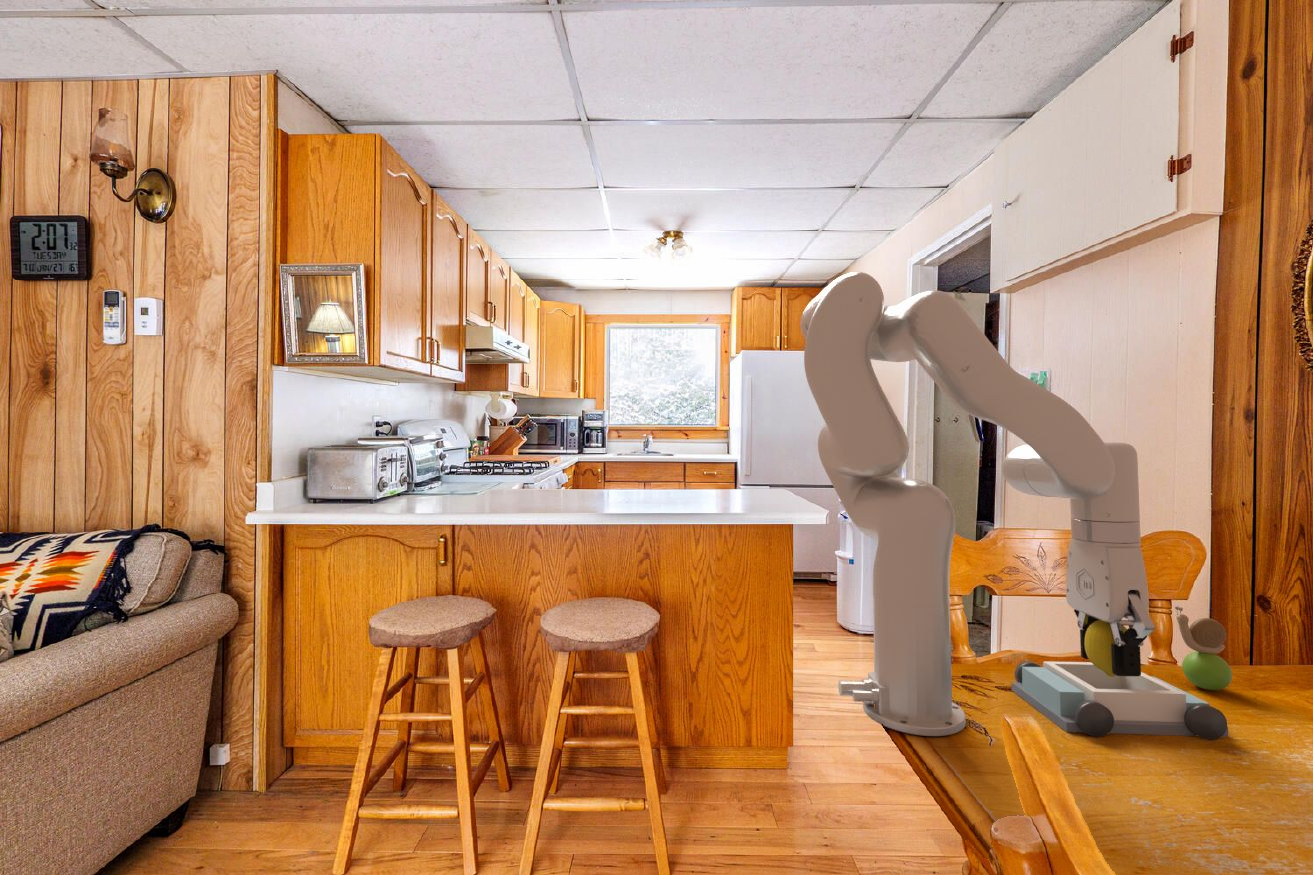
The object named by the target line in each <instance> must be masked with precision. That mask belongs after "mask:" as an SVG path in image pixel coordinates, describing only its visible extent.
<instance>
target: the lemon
mask: <svg viewBox="0 0 1313 875" xmlns="http://www.w3.org/2000/svg"><path fill="white" fill-rule="evenodd" d="M1121 627H1122V631H1123V633H1124V632H1125V631H1126V630H1127V629H1128V628H1127V627H1126V626H1121ZM1111 644H1116V643H1115V640H1114V636H1113V632H1112V628H1111V624H1110V623H1108V622H1104V621H1102V620H1097V621H1095V622H1094V623H1092V624H1091V625H1090V626H1089V627H1088V629H1087V631H1086V634H1085V651H1086V654H1087V656H1088V658H1089V659H1088V660H1089V662H1092V663H1093V664H1094V665H1095V666H1096V667H1097V668H1099V669H1100V670H1102V671H1104V672H1105V673H1106V674H1107V675H1108V676H1110V677H1114V676H1115V674H1113V673H1112V651H1111Z"/></svg>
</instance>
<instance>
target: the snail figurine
mask: <svg viewBox="0 0 1313 875" xmlns="http://www.w3.org/2000/svg"><path fill="white" fill-rule="evenodd" d="M1174 609H1175V610H1176V615H1177V616H1176V621H1177V623H1178V629H1179V632H1180V634H1181V637H1182V639H1183V641H1184V643H1185V645H1186V646H1187V647H1188V648H1189V649H1191V650H1193V651H1192V652H1190V653H1189V654H1187V655H1186V656H1185V657H1184V658H1183V660H1182V663H1181V667H1182V668H1181V670H1182V672H1183V674H1184V676H1185V677H1186V679H1187V680H1188V681H1189V682H1191V684H1193V685H1194V686H1196V687H1198V688H1200V689H1204V690H1205V691H1207V690H1208V691H1221V690H1223V689H1225V688H1227V687H1228V686H1230V684H1231V683H1232V680H1233V672H1232V671H1233V670H1232V669H1231V667H1230V665H1229V663H1228V661H1226V660H1225V659H1224V658H1222V657H1221V656H1219V655H1218V654H1220V653H1221V652H1222V651H1224V649H1225V648H1226V646H1225V644H1224V643H1225V641H1226V640H1227V631H1226V629H1225V627H1224V626H1223V625H1222V624H1221V623H1220V622H1219V621H1218V620H1215V619H1214V618H1213V619H1212V618H1207V617H1203V618H1198V619H1196V620H1194V621H1193V622H1192V623H1191V625H1190V626H1189V617H1188V616H1187V615H1186V614H1184V613H1183V614H1182V611H1183V610H1184V609H1183V607H1181V606H1178V605H1176V606H1174ZM1178 611H1179V612H1178ZM1178 613H1179V614H1178Z"/></svg>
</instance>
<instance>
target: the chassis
mask: <svg viewBox="0 0 1313 875" xmlns="http://www.w3.org/2000/svg"><path fill="white" fill-rule="evenodd" d="M1014 679H1015V680H1016V682H1014V681H1012V682H1011V691H1012V692H1013V693H1014V694H1016V695H1017V696H1018V697H1020V698H1021V699H1022V700H1024V702H1026V703H1028V704H1029V705H1030V706H1032V707H1033V708H1034V709H1035V710H1037V711H1038V712H1039V713H1041V714H1042V715H1043V716H1045V717H1046V718H1047V719H1049V720H1050V721H1051V722H1053V723H1054V724H1055V725H1057V727H1059V728H1061V730H1063V731H1064V732H1066V733H1084V734H1085V733H1086V734H1088V735H1089V736H1091V737H1094V738H1095V737H1096V738H1102V737H1104V736H1105V737H1106V735H1108V734H1120V735H1121V734H1123V735H1124V734H1125V735H1157V736H1160V735H1161V736H1184V737H1185V736H1186V737H1187V736H1193V737H1199V738H1201V739H1203V740H1206V741H1216V740H1219V739H1220V738H1222V737H1223V738H1224V737H1225V738H1226V737H1227V738H1230V737H1229V735H1230V734H1229V726H1228V720H1227V718H1226V716H1225V715H1224V713H1223V712H1222V711H1221V710H1219V709H1218V708H1216V707H1214V706H1211V705H1210V703H1209V702H1207V701H1206V700H1204V699H1201V698H1199V697H1197V696H1195V695H1193V694H1191V693H1189V692H1186V691H1184V690H1182V689H1180V688H1179V687H1176V686H1174V685H1172V684H1170V683H1168V682H1166V681H1164V680H1162V679H1160V678H1158V677H1156V676H1150V675H1148V674H1147V673H1145V672H1142V671H1141V675H1140V676H1116V675H1115V676H1114V677H1110V676H1108V675H1107V674H1106V673H1105V672H1104V671H1102V670H1100V669H1099V668H1097V667H1096V666H1095V665H1094V664H1093V663H1092V662H1091V661H1089V662H1088V661H1087V662H1086V661H1049V660H1048V661H1043V662H1042V666H1041V665H1039V663H1038V664H1037V663H1036V662H1034V661H1031V660H1025V661H1022V662H1020V663H1019V664H1018V665H1017V666H1016V668H1015V670H1014Z"/></svg>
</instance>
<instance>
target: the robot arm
mask: <svg viewBox="0 0 1313 875" xmlns="http://www.w3.org/2000/svg"><path fill="white" fill-rule="evenodd" d="M800 330H801V333H802V336H803V338H804V339H805V342H804V352H803V354H804V355H803V366H804V373H805V377H806V381H807V383H808V387H809V389H810V391H811V394H812V397H813V398H814V401H815V403H816V405H817V407H818V411H819V412H820V415H821V416H822V419H823V421H824V425H823V426H822V427H821V430H820V432H819V435H818V438H817V452H818V455H819V459H820V461H821V464H822V467H823V469H824V471H825V473H826V475H827V477H828V479H829V481H830V483H831V485H832V487H833V488H834V491H835V492H836V494H837V497H838V498H839V500H840V502H841V504H842V506H843V507H844V509H845V511H846V514H847V515H848V517H849V519H850V520H851V522H852V523H853V524H854V526H855V527H856V528H857V530H859V531H860V532H861V533H862V534H864V535H865V536H867V537H869V538H870V539H873V540H875V541H877V548H876V551H875V552H876V553H875V557H874V561H873V562H874V563H873V568H872V569H873V570H872V604H873V605H872V606H873V607H872V610H873V611H872V612H873V614H872V615H873V617H872V618H873V661H874V662H873V666H874V667H873V672H871V671H870V672H867V678H861V681H853V680H838V693H839V695H840V696H843V697H844V696H847V697H849V696H850V697H852V700H853V701H852V702H862V709H863V712H865V714H866V715H867V717H869V718H870V719H871V720H872V721H874V722H876V723H877V724H879V725H880V726H884V727H886V728H888V729H891V730H894V731H896V732H897V731H898V732H901V733H905V734H910V735H915V736H925V737H942V736H943V737H945V736H950V735H954V734H957V733H959V732H960V731H962V730H964V728H965V727H966V723H967V722H966V721H967V720H966V719H967V716H966V713H965V712H964V710H963V709H962V707H960V706H959V705H958V704H956V703H955V702H953V693H952V692H953V690H952V689H953V686H952V684H953V682H952V645H951V644H952V641H951V640H952V638H951V600H950V599H951V598H950V596H951V595H950V576H951V575H950V572H951V558H952V552H953V551H952V550H953V546H954V539H955V533H956V523H957V522H956V514H955V510H954V507H953V504H952V502H951V500H950V498H949V497H948V496H947V495H946V494H945V492H944V491H942V490H941V489H940V488H939V487H937V486H936V485H934V484H933V483H930V482H928V481H925V480H922V479H917V478H907V477H899V475H898V473H897V471H898V470H900V469H901V468H902V467H903V466H904V464H905V462H906V461H907V459H908V456H909V453H910V451H909V450H910V448H909V447H910V446H909V440H908V437H907V434H906V432H905V430H904V427H903V425H902V424H901V422H900V420H899V418H898V416H897V414H896V413H895V411H894V409H893V407H892V405H891V403H890V402H889V399H888V398H887V396H886V394H885V392H884V390H883V388H882V386H881V384H880V381H879V380H878V378H877V376H876V373H875V371H874V368H873V364H872V361H871V360H873V361H881V362H891V363H892V362H893V363H905V362H910V361H914V360H916V362H918V364H919V365H920V366H921V367H922V369H923V371H925V372H926V373H927V375H928V376H929V377H930V379H931V380H932V381H933V382H934V384H936V386H937V387H938V388H939V389H940V391H941V393H943V394H944V396H945V397H946V399H948V401H949V402H950V403H951V405H952V406H954V407H955V408H956V409H957V410H959V411H962V412H963V413H965V414H967V415H969V416H972V417H974V418H976V419H980V420H982V421H986V422H988V423H991V424H993V425H996V426H999V427H1000V428H1003V429H1004V430H1006V431H1008V432H1010V433H1011V434H1014V435H1015V436H1016V437H1017V438H1019V439H1021V441H1023V442H1024V444H1021V445H1018V446H1016V447H1014V448H1013V449H1012V450H1010V451H1009V452H1008V453H1007V454H1006V456H1005V457H1004V460H1003V461H1002V468H1001V470H1002V475H1003V477H1004V480H1005V481H1006V482H1007V483H1008V485H1009V486H1010V487H1012V488H1013V489H1015V490H1017V491H1018V492H1021V493H1022V494H1027V495H1029V496H1030V495H1031V496H1036V497H1044V498H1045V497H1047V498H1060V499H1068V500H1069V503H1070V508H1069V509H1070V528H1071V529H1070V530H1071V531H1070V532H1071V533H1070V534H1071V538H1070V542H1069V545H1068V552H1067V560H1066V576H1065V578H1066V579H1065V585H1066V586H1065V597H1066V603H1067V604H1068V606H1069V607H1071V608H1072V609H1073V612H1074V613H1075V616H1076V617H1077V622H1076V623H1077V627H1078V628H1079V636H1080V638H1079V639H1080V640H1079V641H1080V657H1082V658H1083V659H1085V660H1089V658H1088V656H1087V654H1086V651H1085V634H1086V631H1087V629H1088V627H1089V626H1090V625H1091V624H1092V623H1094V622H1095V621H1097V620H1102V621H1104V622H1108V623H1110V624H1111V628H1112V632H1113V636H1114V640H1115V643H1116V644H1111V651H1112V673H1113V674H1115V675H1116V676H1140V675H1141V672H1142V665H1141V664H1142V663H1141V662H1142V661H1141V647H1143V646H1144V641H1145V640H1147V637H1148V636H1149V635H1150V634H1151V633H1152V632H1154V631H1155V629H1156V625H1155V623H1154V621H1153V620H1152V618H1151V616H1150V615H1149V609H1150V608H1149V607H1150V605H1149V604H1150V601H1149V587H1148V580H1147V572H1146V566H1145V562H1144V555H1143V552H1142V548H1141V546H1142V543H1141V542H1142V541H1141V539H1142V538H1141V517H1140V516H1141V514H1140V490H1139V486H1140V485H1139V463H1138V453H1137V450H1136V448H1135V447H1134V446H1133V445H1132V444H1129V443H1126V442H1104V440H1103V439H1102V438H1101V437H1100V435H1099V434H1098V433H1097V432H1096V430H1094V428H1093V427H1092V426H1091V424H1090V423H1089V422H1088V421H1087V419H1086V418H1085V417H1084V416H1083V415H1082V414H1081V413H1080V412H1079V411H1078V410H1077V409H1076V408H1075V407H1073V406H1072V405H1071V404H1070V403H1068V402H1067V401H1065V400H1064V399H1062V398H1061V397H1059V396H1058V395H1056V394H1055V393H1054V392H1051V391H1050V390H1048V389H1046V388H1045V387H1043V386H1041V385H1040V384H1038V383H1037V382H1035V381H1034V380H1032V379H1030V378H1028V377H1027V376H1024V375H1022V374H1021V373H1019V372H1018V371H1016V370H1014V368H1012V366H1010V364H1009V363H1008V361H1006V359H1005V358H1004V356H1002V354H1001V353H1000V352H999V351H998V350H997V348H996V347H995V345H994V344H993V343H992V342H991V341H990V340H989V338H988V337H987V336H986V335H985V334H984V333H983V331H982V330H981V329H980V328H979V326H978V325H977V324H976V322H975V321H974V320H973V319H972V318H971V316H970V315H969V314H968V313H967V311H966V310H965V309H964V307H962V306H961V304H960V303H959V302H958V301H957V300H956V298H954V297H953V296H952V295H950V294H949V293H947V292H944V291H943V290H927V291H923V292H919V293H918V294H915V295H913V296H911V297H909V298H907V299H906V300H905V299H904V301H901V302H900V303H898V304H897V305H885V295H884V291H883V289H882V287H881V285H880V284H879V282H878V281H877V280H876V279H875V278H874V277H873V276H871V275H870V274H868V273H866V272H861V271H854V272H853V271H852V272H848V273H846V274H843V275H841V276H839V277H837V278H836V279H834V280H833V281H831V282H830V283H829V284H828V285H827V286H825V287H824V288H822V290H821V291H820V292H819V294H817V295H816V296H815V297H814V298H812V299H811V301H810V302H809V303H808V304H807V306H806V307H805V308H804V310H803V311H802V314H801V318H800ZM1126 619H1127V620H1126ZM1121 626H1124V627H1126V626H1128V628H1127V630H1126V631H1125V632H1124V633H1123V631H1122V627H1121ZM874 704H875V708H874ZM882 724H883V725H882Z"/></svg>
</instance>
